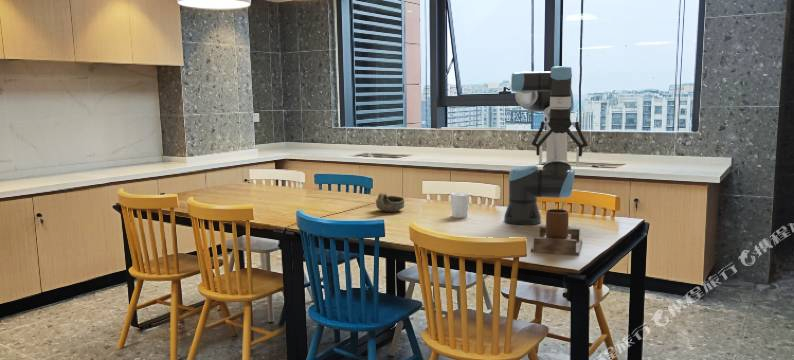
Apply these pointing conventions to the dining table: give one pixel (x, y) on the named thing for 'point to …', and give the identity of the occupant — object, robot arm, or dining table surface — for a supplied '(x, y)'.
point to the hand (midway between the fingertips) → (558, 164)
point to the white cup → (459, 204)
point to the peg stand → (558, 243)
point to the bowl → (389, 202)
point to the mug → (557, 223)
